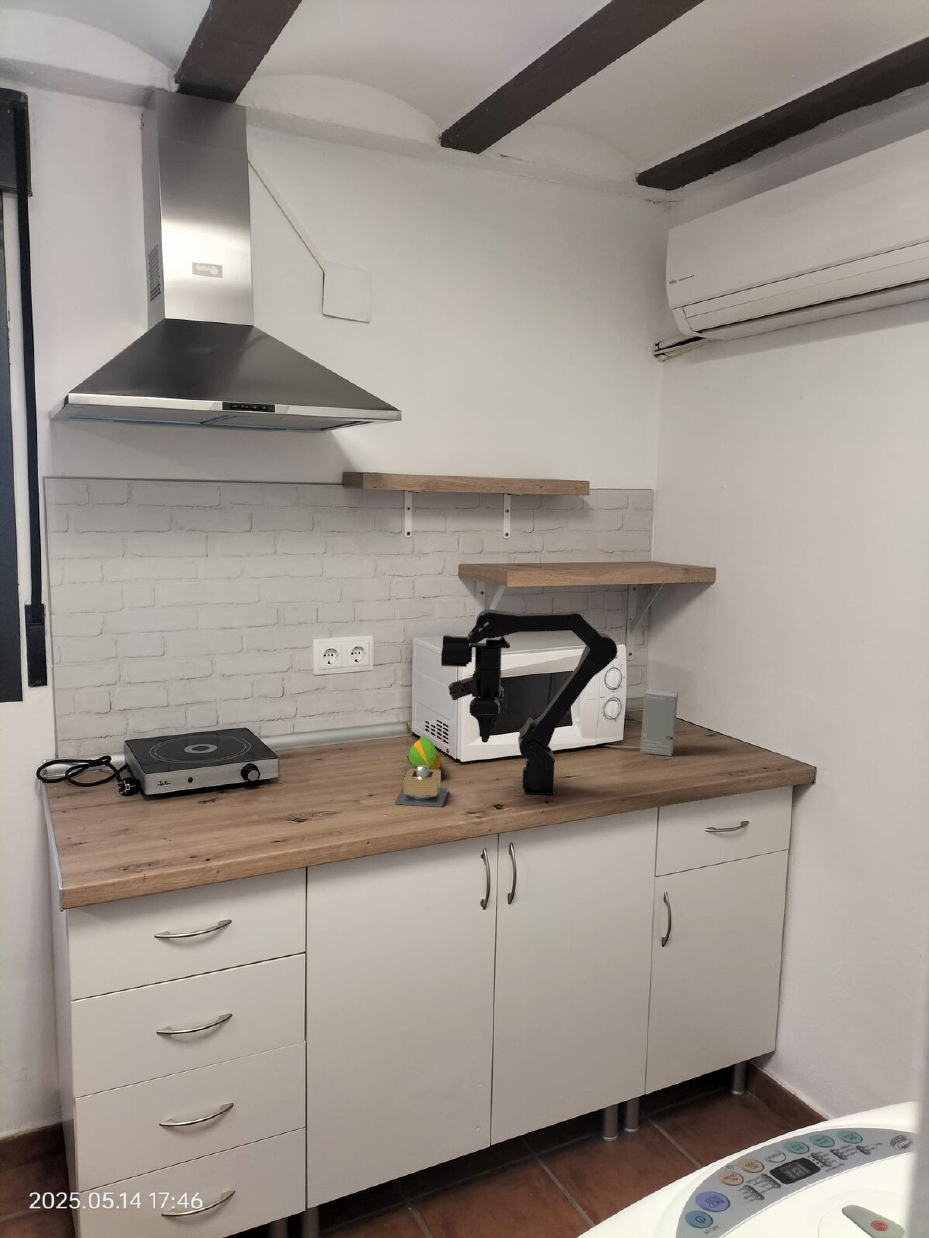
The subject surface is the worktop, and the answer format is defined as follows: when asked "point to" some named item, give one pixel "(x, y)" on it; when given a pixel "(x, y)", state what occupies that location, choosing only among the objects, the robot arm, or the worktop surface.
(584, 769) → the worktop surface
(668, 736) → the skincare box
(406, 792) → the collar
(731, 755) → the worktop surface
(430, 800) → the post
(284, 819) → the worktop surface
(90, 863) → the worktop surface
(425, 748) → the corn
